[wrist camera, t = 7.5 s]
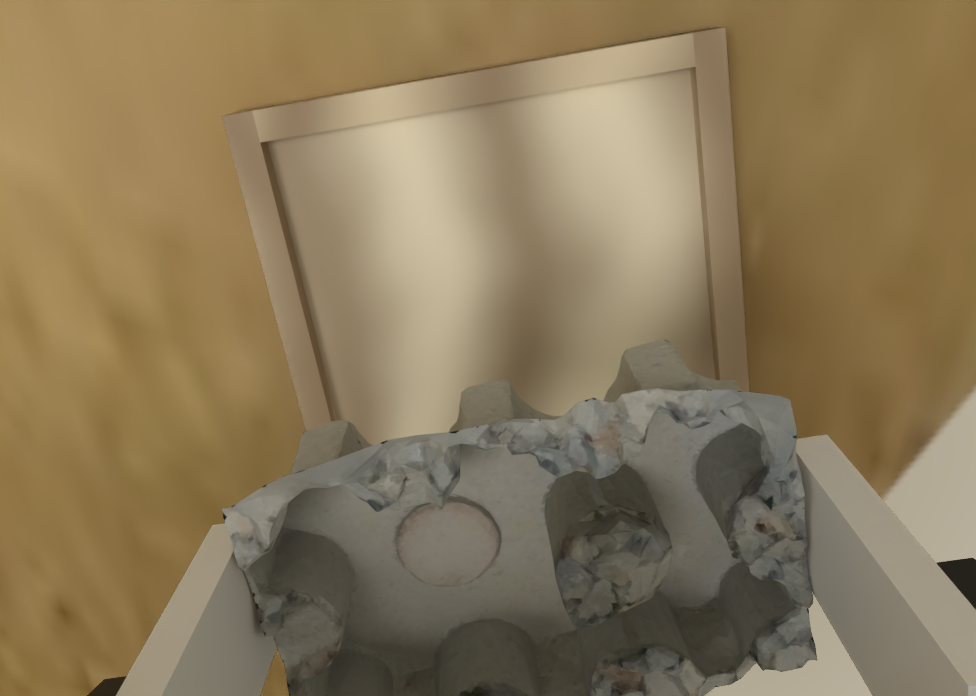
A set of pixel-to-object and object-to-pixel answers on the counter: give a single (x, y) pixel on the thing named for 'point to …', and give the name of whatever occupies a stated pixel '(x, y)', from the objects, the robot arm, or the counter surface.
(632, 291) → the tray
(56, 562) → the counter surface
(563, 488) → the egg carton
